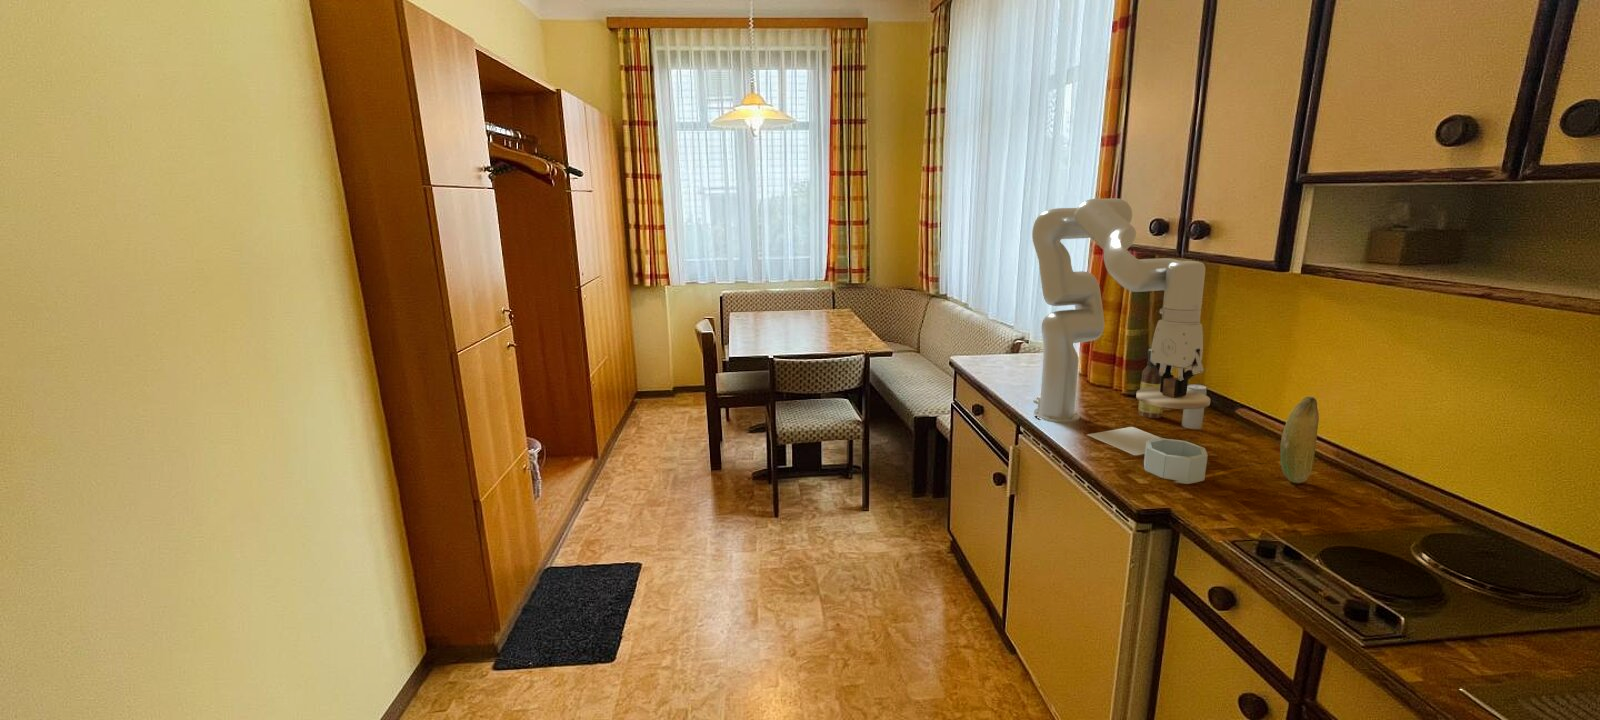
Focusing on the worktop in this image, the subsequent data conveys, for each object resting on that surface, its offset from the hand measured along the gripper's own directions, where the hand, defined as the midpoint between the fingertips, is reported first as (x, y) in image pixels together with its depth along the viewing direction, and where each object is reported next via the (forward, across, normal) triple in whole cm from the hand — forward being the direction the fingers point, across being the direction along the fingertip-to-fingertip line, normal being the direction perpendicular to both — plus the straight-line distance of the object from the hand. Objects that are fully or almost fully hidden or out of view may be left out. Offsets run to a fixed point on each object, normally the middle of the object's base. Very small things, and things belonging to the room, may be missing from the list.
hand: (1172, 393), depth 151 cm
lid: (+2, 0, 0) cm, 2 cm away
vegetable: (+18, +18, +17) cm, 31 cm away
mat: (+18, -14, +6) cm, 23 cm away
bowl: (+18, +4, -2) cm, 18 cm away
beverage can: (+18, -16, +28) cm, 37 cm away
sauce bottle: (+18, -28, +27) cm, 43 cm away
